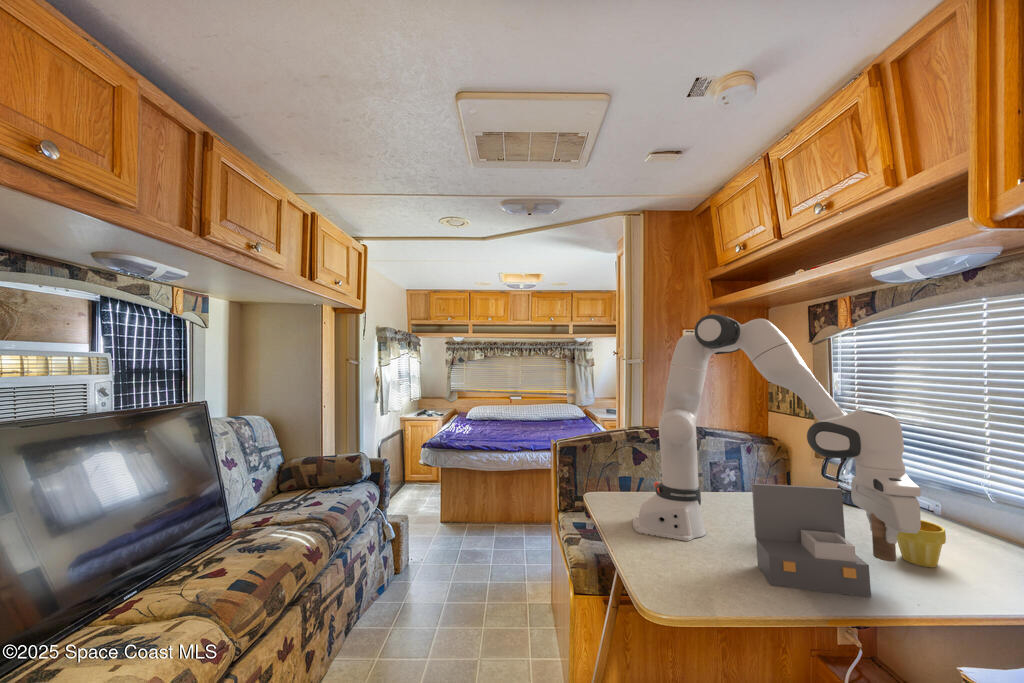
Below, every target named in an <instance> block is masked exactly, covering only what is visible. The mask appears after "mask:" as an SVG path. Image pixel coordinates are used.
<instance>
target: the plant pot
mask: <svg viewBox="0 0 1024 683" xmlns="http://www.w3.org/2000/svg"><path fill="white" fill-rule="evenodd" d="M946 540H947V536H946V530H945V528H944V527H943V526H941V525H940V524H936V523H933V522H931V521H927V520H923V519H921V526H920V530H919V531H918V533H905V532H899V533H898V535H897V545H898V547H899V551H900V554H901V557H902V559H903V560H905V562H908V563H911V564H912V565H915V566H916V565H917V566H920V567H927V568H937V566H938V564H939V559H940V556H941V551H942V547H943V545H945V544H946V543H947V541H946Z"/></svg>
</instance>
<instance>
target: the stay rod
mask: <svg viewBox="0 0 1024 683" xmlns="http://www.w3.org/2000/svg"><path fill="white" fill-rule="evenodd" d="M871 523H872V531H871V536H872V555H873V557H874V558H876V559H878V560H881V561H884V562H889V563H890V562H891V563H894V562H897V554H896V553H897V550H896V549H897V548H896V547H897V546H896V544H893V543H888V542H887V541H886V540H884V533H886V529H887V528H886V527H885V523H884V522H883V521H881V520H879V519H878V518H876V516H875V514H873V513H871Z"/></svg>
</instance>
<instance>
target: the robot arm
mask: <svg viewBox="0 0 1024 683" xmlns="http://www.w3.org/2000/svg"><path fill="white" fill-rule="evenodd" d="M693 332H694V334H691V333H690V334H685V335H682V336H681V337H680V338H678V340H677V342H676V346H675V349H674V351H673V354H672V358H671V362H670V366H669V372H668V378H667V383H666V389H665V395H664V401H663V408H662V413H661V417H660V419H659V422H658V437H659V438H658V439H659V451H660V460H661V463H660V464H661V482H659V481H657V480H656V481H654V483H653V487H654V488H655V495H653V496H651V497H650V498H648V499H647V500H645V501H643V503H642V504H641V506H640V508H639V513H638V514H639V515H636V516H634V517H633V519H632V527H633V529H634V531H636V532H637V533H638V532H639V534H642V533H644V534H643V535H648V534H650V535H649V536H654V535H656V536H655V537H660V536H661V538H666V537H667V538H666V539H672V538H673V540H677V541H678V540H679V541H686V542H689V541H691V540H693V539H697V538H701V537H703V536H705V535H707V530H706V527H705V523H704V520H703V514H702V510H701V502H702V494H701V492H702V490H701V486H700V485H699V469H698V468H699V467H698V466H699V465H698V446H697V443H698V442H697V420H698V415H699V411H700V410H699V409H700V405H701V401H702V398H703V397H702V396H703V393H704V392H703V391H704V387H705V381H706V376H707V370H708V364H709V361H710V359H711V357H712V356H713V355H723V354H729V353H730V354H732V353H735V352H738V351H740V350H742V351H743V353H745V355H746V356H747V357H748V359H749V360H750V362H751V363H752V365H753V366H754V368H755V369H756V370H757V371H758V372H759V374H761V375H762V377H763V378H764V379H766V380H767V381H768V383H771V384H774V385H777V386H779V387H782V388H783V389H786V390H788V391H791V392H792V393H794V394H795V395H796V396H798V397H799V398H800V400H801V401H802V402H803V403H804V405H805V406H807V408H808V409H809V411H810V412H811V413H812V414H813V416H815V418H816V419H817V420H818V421H817V422H815V423H813V424H812V425H811V426H809V428H808V429H807V433H806V439H807V443H808V445H809V446H810V449H812V450H813V452H815V453H816V454H818V455H820V456H821V457H825V458H829V459H845V458H846V459H847V458H848V459H849V458H851V459H853V460H854V464H855V474H854V475H855V476H853V477H852V480H851V484H850V485H851V487H850V488H851V490H850V492H851V493H850V494H851V495H850V498H851V502H852V504H853V505H855V506H857V507H859V509H861V510H862V511H865V512H866V518H867V520H868V523H869V527H870V531H871V532H872V523H871V513H873V514H875V516H876V518H878V519H879V520H881V521H883V522H884V523H885V527H886V528H887V529H886V533H884V540H886V541H887V542H888V543H893V544H895V545H896V544H898V542H897V535H898V533H899V532H905V533H918V531H919V530H920V526H921V520H922V518H921V505H920V502H919V500H918V498H920V497H921V494H922V492H921V488H920V487H919V486H918V485H917V484H916V483H915V482H914V481H913V480H912V479H911V478H910V477H909V475H908V474H906V466H905V463H904V462H903V461H904V460H903V454H904V450H905V444H904V436H903V430H902V426H901V422H900V420H899V418H897V416H895V415H894V414H892V413H890V412H887V411H884V410H879V409H874V408H867V407H865V408H864V407H863V408H862V407H861V408H857V409H856V410H855V409H854V410H853V411H852V412H849V413H848V412H846V411H845V410H844V409H843V408H842V407H841V406H840V405H839V403H837V402H836V400H835V399H834V397H832V395H831V394H830V393H829V392H828V391H827V389H825V387H824V386H823V384H821V382H820V381H819V380H818V379H817V378H816V377H815V375H814V374H813V372H812V371H811V369H809V367H808V366H807V364H806V363H805V361H804V360H803V358H802V357H801V355H800V354H799V352H798V351H797V349H796V348H795V347H794V345H793V344H792V343H791V342H790V340H789V338H787V336H786V335H785V334H784V333H783V332H782V331H781V330H780V329H779V328H778V327H777V326H776V325H774V323H773V322H771V321H770V320H768V319H766V318H755V319H751V320H749V321H747V322H746V323H743V324H742V323H741V322H738V321H737V320H735V319H734V318H732V317H729V316H724V315H722V314H714V313H712V314H708V315H704V316H702V317H701V318H700V319H699V320H698V321H697V322H696V324H695V325H694V331H693Z"/></svg>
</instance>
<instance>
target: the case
mask: <svg viewBox="0 0 1024 683" xmlns="http://www.w3.org/2000/svg"><path fill="white" fill-rule="evenodd" d="M751 490H752V509H753V524H754V525H753V526H754V528H753V529H754V538H756V540H755V541H756V542H755V543H756V556H757V567H758V568H759V569H760V571H761V573H762V575H763V576H764V577H765V579H766V580H767V581H768V582H767V583H769V585H770V587H771V586H773V587H779V588H791V589H796V590H797V589H798V590H807V591H813V592H815V591H816V592H823V593H824V592H825V593H831V594H841V595H849V596H857V597H858V596H859V597H865V598H866V597H868V598H871V597H872V588H871V577H870V565H869V564H868V563H867V562H866V561H864V559H862V558H861V557H860V556H858V555H857V554H856V547H855V545H854V544H852V543H851V542H849V540H847V539H846V530H845V519H844V518H845V516H844V504H843V489H841V488H840V487H825V486H824V487H822V486H807V485H805V486H804V485H803V486H802V485H788V484H787V485H786V484H772V483H771V484H769V483H767V484H766V483H755V482H754V483H751Z"/></svg>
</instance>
